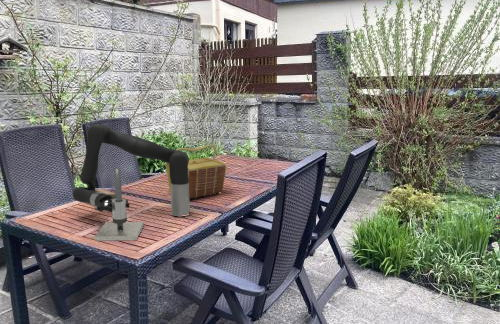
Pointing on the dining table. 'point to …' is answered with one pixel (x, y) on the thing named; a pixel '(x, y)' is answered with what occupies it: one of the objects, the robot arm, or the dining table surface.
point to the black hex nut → (119, 221)
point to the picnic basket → (203, 174)
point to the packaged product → (106, 192)
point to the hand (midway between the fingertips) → (120, 207)
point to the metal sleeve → (119, 209)
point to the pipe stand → (119, 230)
